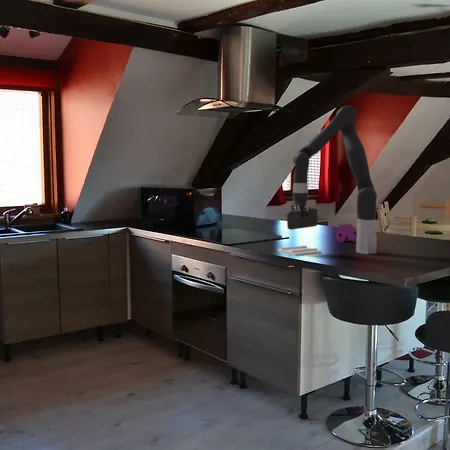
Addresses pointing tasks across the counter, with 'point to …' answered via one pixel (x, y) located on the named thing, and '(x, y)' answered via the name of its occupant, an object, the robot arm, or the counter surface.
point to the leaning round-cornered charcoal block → (296, 219)
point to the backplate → (289, 251)
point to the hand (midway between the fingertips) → (299, 225)
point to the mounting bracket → (346, 233)
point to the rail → (299, 250)
